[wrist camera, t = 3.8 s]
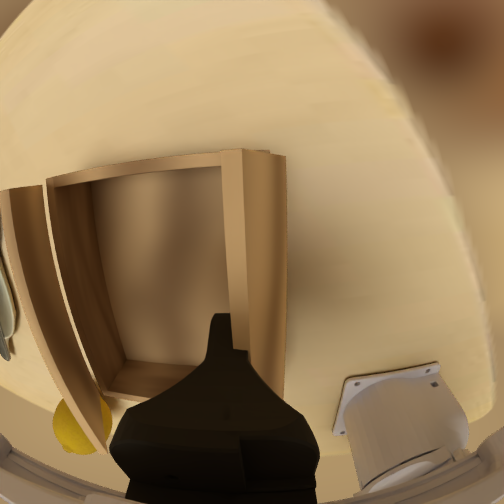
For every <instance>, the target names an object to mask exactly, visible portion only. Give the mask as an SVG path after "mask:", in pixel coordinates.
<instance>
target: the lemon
mask: <svg viewBox="0 0 504 504" xmlns="http://www.w3.org/2000/svg"><path fill="white" fill-rule="evenodd" d="M100 403H101V412H102V420H103V427H104V434H105V440H107V439H108V437H109V434H110V432H111V429H112V415H111V411H110V409H109V407H108V405H107V404H106V402H105V401H104V400H103V399H102V397H101V395H100ZM53 429H54V433H55V436H56V438H57V439H58V441H59V442H60V443H61V445H62V447H63V449H64V450H65V451H66V452H68V453H71V452H73V453H76V454H81V455H87V454H92V453H94V452H95V451H97V450H96V448H95V447H94V445H93V444H92V443H91V441H90V440H89V438H88V437H87V435H86V434H85V433H84V431H83V430H82V428H81V427H80V425H79V423H78V422H77V420H76V419H75V417H74V416H73V414H72V412H71V411H70V409H69V407H68V406H67V404H66V402H65V400H64V399H62V400H61V401H60V403H59V404H58V406H57V408H56V411H55V414H54V417H53Z"/></svg>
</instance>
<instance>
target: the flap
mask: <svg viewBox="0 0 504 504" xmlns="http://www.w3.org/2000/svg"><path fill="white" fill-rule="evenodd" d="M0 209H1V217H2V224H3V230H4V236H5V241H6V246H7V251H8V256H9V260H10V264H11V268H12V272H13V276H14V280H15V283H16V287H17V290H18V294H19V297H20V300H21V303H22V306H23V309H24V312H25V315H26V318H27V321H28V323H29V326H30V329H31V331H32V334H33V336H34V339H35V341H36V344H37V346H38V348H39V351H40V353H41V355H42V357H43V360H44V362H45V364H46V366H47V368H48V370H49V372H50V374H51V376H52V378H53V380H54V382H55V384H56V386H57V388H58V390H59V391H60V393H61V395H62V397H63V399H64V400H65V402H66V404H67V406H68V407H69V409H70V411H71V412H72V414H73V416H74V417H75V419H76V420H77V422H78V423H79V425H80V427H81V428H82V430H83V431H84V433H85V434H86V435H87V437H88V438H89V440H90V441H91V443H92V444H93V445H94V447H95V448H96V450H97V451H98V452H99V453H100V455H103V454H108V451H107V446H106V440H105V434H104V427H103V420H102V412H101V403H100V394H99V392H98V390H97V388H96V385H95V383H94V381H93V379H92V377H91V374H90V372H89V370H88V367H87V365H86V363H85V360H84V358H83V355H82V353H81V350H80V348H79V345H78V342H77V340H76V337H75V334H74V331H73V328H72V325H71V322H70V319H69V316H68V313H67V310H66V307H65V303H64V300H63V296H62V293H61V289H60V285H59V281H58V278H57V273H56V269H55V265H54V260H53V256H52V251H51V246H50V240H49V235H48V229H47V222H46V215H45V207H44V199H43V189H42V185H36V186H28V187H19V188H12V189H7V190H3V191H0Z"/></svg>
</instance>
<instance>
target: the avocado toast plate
mask: <svg viewBox="0 0 504 504" xmlns="http://www.w3.org/2000/svg"><path fill="white" fill-rule="evenodd" d="M15 320H16V311H15V306H14V302H13V297H12V293H11V289H10V286H9V283H8V280H7V277H6V274H5V270H4V267H3V263H2V259H1V255H0V354H1V356H2V357H3V358H4V359H5V360H7V361H10V359H11V356H10V350H9V344H8V342H9V338H10V337H11V336H12V335H13V334H14V329H15Z"/></svg>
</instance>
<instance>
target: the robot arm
mask: <svg viewBox="0 0 504 504" xmlns="http://www.w3.org/2000/svg"><path fill="white" fill-rule="evenodd" d="M440 367H441V366H440V364H439V363H432V364H428V365H424V366H419V367H414V368H409V369H404V370H399V371H394V372H388V373H382V374H375V375H369V376H361V377H354V378H349V379H347V380H346V381H345V384H344V388H343V392H342V397H341V401H340V405H339V409H338V413H337V416H336V420H335V424H334V428H333V431H332V433H333V435H334V436H340V435H347V436H348V440H349V443H350V447H351V451H352V456H353V459H354V464H355V468H356V472H357V476H358V481H359V485H360V489H361V491H359V492H357V493H355V494H354V495H353V497H352V498H347V499H343V500H337V501H332V502H326V503H320V504H495V503H497V502H498V501H499V500H501V499H502V498H503V497H504V427H502V428H500V429H499V430H497V431H496V432H494V433H492V434H491V435H490V436H488V437H487V438H486V439H485V440H484V441H483V442H482V443H481V444H480V446H479V447H478V448H477V450H476V451H475V452H473V453H470V451H469V450H468V449H465V447H466V444H467V441H468V436H469V427H468V421H467V417H466V415H465V412H464V411H463V409H462V407H461V406H460V404H459V403H458V401H457V400H456V398H455V397H454V395H453V394H452V392H451V391H450V389H449V388H448V386H447V385H446V383H445V382H444V380H443V379H442V377H441V376H440V375H439V373H438V372H439V370H440ZM356 382H357V383H356ZM109 450H110V454H111V455H112V457H113V459H114V460H115V462H116V463H117V464H118V465H119V467H120V468H121V469H122V470H123V471H124V472H125V474H126V475H127V476H128V477H129V478H130V482H129V485H128V489H127V492H126V493H123V492H118V491H115V490H112V489H109V488H105V487H102V486H99V485H96V484H93V483H90V482H87V481H84V480H82V479H79V478H76V477H74V476H71V475H69V474H67V473H64V472H62V471H60V470H57V469H55V468H53V467H51V466H48V465H46V464H44V463H42V462H40V461H38V460H36V459H34V458H32V457H30V456H28V455H26V454H25V453H23V452H21V451H19V450H17V449H16V448H14V447H12V445H11V444H10V442H9V441H8V440H7V439H6V438H5V437H4V436H3V435H2V434H1V433H0V497H1V498H2V499H4V500H5V501H6V502H8V503H9V504H317V499H316V492H315V488H316V480H315V471H316V468H317V465H318V462H319V459H320V451H319V447H318V444H317V442H316V439H315V437H314V434H313V432H312V430H311V428H310V426H309V425H308V423H307V421H306V419H305V418H304V416H303V415H302V414H300V413H299V412H298V411H296V410H295V409H293V408H292V407H291V406H290V405H288V404H287V403H286V402H285V401H284V400H282V399H281V398H280V397H279V396H278V395H277V394H276V393H275V392H274V391H273V390H272V389H271V388H270V387H269V386H268V385H267V384H266V383H265V382H264V380H263V379H262V378H261V377H260V376H259V374H258V373H257V372H256V370H255V369H254V368H253V366H252V365H251V363H250V362H249V360H248V351H247V350H239V349H233V339H232V327H231V315H230V313H215V314H214V315H213V317H212V319H211V323H210V329H209V337H208V345H207V351H206V356H205V359H204V361H203V362H202V363H201V364H200V365H199V366H198V367H197V368H195V369H194V370H193V371H192V372H191V373H190V374H188V375H187V376H186V377H185V378H183V379H182V380H181V381H179V382H178V383H177V384H175V385H174V386H172V387H170V388H169V389H167V390H166V391H164V392H162V393H160V394H159V395H157V396H155V397H153V398H151V399H149V400H146V401H144V402H142V403H140V404H138V405H135V406H133V407H130V408H128V409H127V410H126V412H125V414H124V415H123V417H122V418H121V420H120V422H119V424H118V426H117V429H116V431H115V434H114V436H113V439H112V441H111V444H110V447H109Z"/></svg>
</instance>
